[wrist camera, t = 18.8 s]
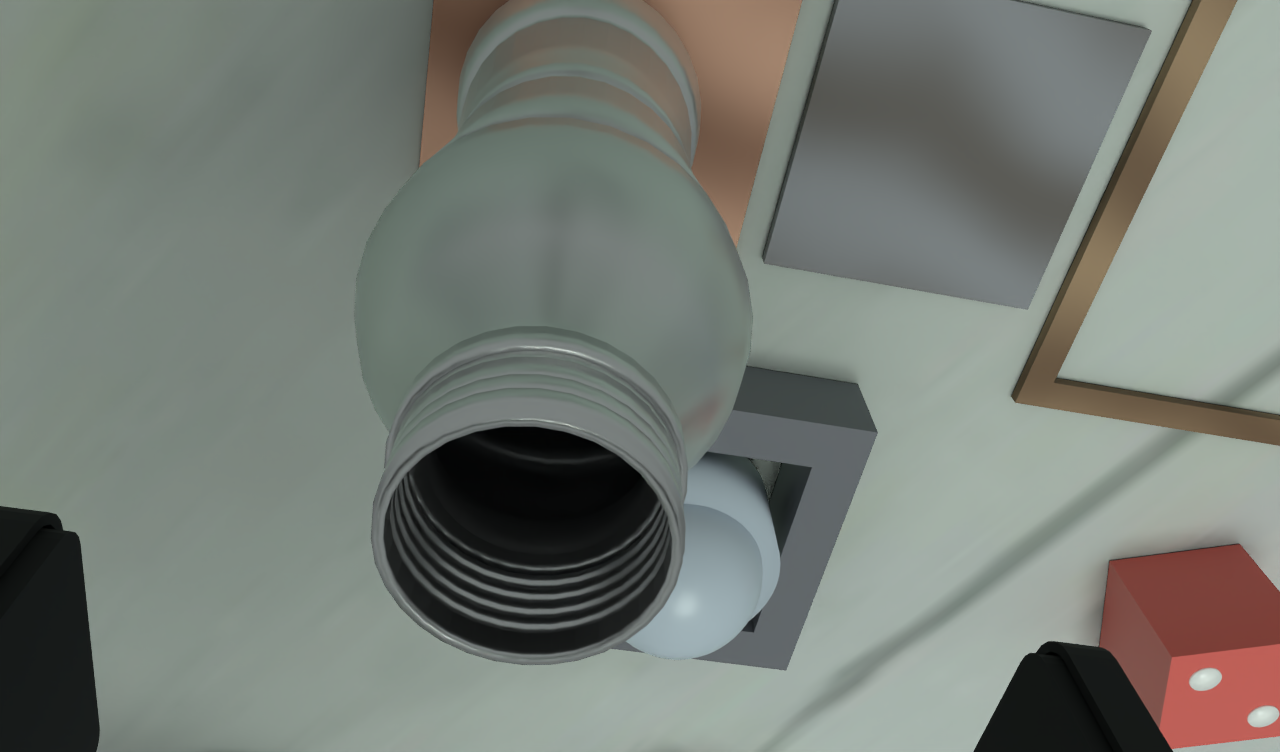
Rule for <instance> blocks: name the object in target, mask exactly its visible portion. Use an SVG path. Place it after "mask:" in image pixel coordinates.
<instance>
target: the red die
mask: <svg viewBox="0 0 1280 752" xmlns="http://www.w3.org/2000/svg"><path fill="white" fill-rule="evenodd" d="M1099 647H1102V648H1104V649H1106V650H1108V651H1110V652H1111V653H1112V655H1113V656H1114V657H1115V658H1116V659H1117V661H1118V663H1119V664H1120V666H1121V668H1122V669H1123V671H1124V672H1125V674H1126V676H1127V677H1128V679H1129V681H1130V682H1131V684H1132V685H1133V687H1134V689H1135V690H1136V692H1137V694H1138V695H1139V697H1140V698H1141V700H1142V702H1143V703H1144V705H1145V707H1146V708H1147V710H1148V711H1149V713H1150V715H1151V716H1152V718H1153V720H1154V721H1155V723H1156V725H1157V726H1158V728H1159V729H1160V731H1161V733H1162V734H1163V736H1164V738H1165V739H1166V741H1167V742H1168V744H1169V746H1170V747H1171V749H1174V748H1183V747H1191V746H1200V745H1208V744H1217V743H1225V742H1234V741H1242V740H1251V739H1259V738H1268V737H1276V736H1280V592H1279V590H1278V589H1277V588H1276V587H1275V586H1274V584H1273V583H1272V582H1271V581H1270V580H1269V578H1268V577H1267V576H1266V575H1265V574H1264V572H1263V571H1262V570H1261V569H1260V568H1259V566H1258V565H1257V564H1256V563H1255V562H1254V560H1253V559H1252V558H1251V557H1250V556H1249V555H1248V553H1247V552H1246V551H1245V550H1244V549H1243V547H1242V546H1241V545H1240V544H1237V545H1229V546H1221V547H1214V548H1206V549H1198V550H1190V551H1183V552H1175V553H1167V554H1160V555H1152V556H1144V557H1136V558H1129V559H1121V560H1113V561H1110V562H1109V570H1108V579H1107V587H1106V595H1105V603H1104V612H1103V620H1102V628H1101V636H1100V645H1099Z"/></svg>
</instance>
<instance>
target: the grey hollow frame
mask: <svg viewBox="0 0 1280 752" xmlns="http://www.w3.org/2000/svg"><path fill="white" fill-rule="evenodd" d="M877 433H878V432H877V429H876V427H875V425H874V422H873V420H872V417H871V415H870V413H869V410H868V408H867V405H866V403H865V400H864V398H863V396H862V393H861V391H860V388H859V386H858V384H853V383H847V382H841V381H834V380H828V379H822V378H816V377H810V376H803V375H797V374H791V373H785V372H779V371H773V370H766V369H760V368H754V367H748V366H746V368H745V372H744V375H743V379H742V382H741V385H740V388H739V391H738V394H737V397H736V401H735V404H734V407H733V410H732V412H731V414H730V416H729V418H728V419H727V421H726V423H725V425H724V427H723V429H722V431H721V432H720V434H719V436H718V438H717V440H716V441H715V442H714V443H713V445H712V446H711V447H710V448H709V449H708V452H714V453H721V454H728V455H734V456H741V457H748V458H754V459H761V460H768V461H774V462H781V463H782V465H781V468H780V471H779V474H778V477H777V480H776V483H775V486H774V489H773V492H772V496H771V499H770V502H769V507H770V512H771V517H772V521H773V526H774V530H775V535H776V540H777V544H778V549H779V553H780V574H779V578H778V582H777V585H776V587H775V590H774V592H773V594H772V596H771V597H770V599H769V600H768V602H767V604H766V605H765V606H764V607H763V608H762V609H761V611H760V612H759V613H758V614H756V615H755V616H754V617H753V618H752V619H751V620H750V621H748V623H747V624H746V626H745V627H744V628H743V629H742V630H741V632H740V633H739V634H738V635H737V636H736V637H735V638H734V639H733V640H731V641H730V642H729V643H727V644H726V645H724V646H723V647H721V648H720V649H718V650H716V651H714V652H712V653H709V654H707V655H704V656H701V657H697V658H692V659H699V660H707V661H715V662H723V663H731V664H739V665H747V666H755V667H763V668H771V669H779V670H786V669H787V667H788V664H789V662H790V659H791V656H792V654H793V651H794V649H795V646H796V643H797V641H798V638H799V636H800V633H801V630H802V628H803V625H804V623H805V620H806V618H807V615H808V612H809V610H810V607H811V605H812V602H813V599H814V597H815V594H816V592H817V589H818V586H819V584H820V581H821V579H822V576H823V573H824V571H825V568H826V566H827V563H828V560H829V558H830V555H831V553H832V550H833V547H834V545H835V542H836V540H837V537H838V535H839V532H840V529H841V527H842V524H843V522H844V519H845V516H846V514H847V511H848V509H849V506H850V503H851V501H852V498H853V496H854V493H855V490H856V488H857V485H858V483H859V480H860V477H861V475H862V472H863V470H864V467H865V465H866V462H867V459H868V457H869V454H870V452H871V449H872V446H873V444H874V441H875V439H876V436H877ZM611 649H618V650H626V651H634V652H642V651H640V650H638V649H636V648H635V647H633V646H632V645H630V644H629V643H627V642H626V641H625V642H623V643H621V644H619V645H617V646H615V647H613V648H611ZM643 653H645V652H643Z"/></svg>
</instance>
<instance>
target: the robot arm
mask: <svg viewBox="0 0 1280 752" xmlns="http://www.w3.org/2000/svg"><path fill="white" fill-rule="evenodd" d="M99 734H100V727H99V717H98V708H97V698H96V688H95V679H94V669H93V660H92V650H91V640H90V631H89V621H88V612H87V602H86V592H85V583H84V573H83V564H82V554H81V544H80V540H79V537H78V535H77V534H76V533H75V532H71V531H63V527H62V523H61V520H60V519H59V517H58V516H57V514H53V513H49V512H41V511H34V510H26V509H18V508H10V507H2V506H0V752H96V750H97V746H98V741H99ZM974 752H1173V751H1172V749H1171V747H1170V746H1169V744H1168V742H1167V741H1166V739H1165V738H1164V736H1163V734H1162V733H1161V731H1160V729H1159V728H1158V726H1157V725H1156V723H1155V721H1154V720H1153V718H1152V716H1151V715H1150V713H1149V711H1148V710H1147V708H1146V707H1145V705H1144V703H1143V702H1142V700H1141V698H1140V697H1139V695H1138V694H1137V692H1136V690H1135V689H1134V687H1133V685H1132V684H1131V682H1130V681H1129V679H1128V677H1127V676H1126V674H1125V672H1124V671H1123V669H1122V668H1121V666H1120V664H1119V663H1118V661H1117V659H1116V658H1115V657H1114V656H1113V655H1112V653H1111V652H1110V651H1108V650H1106V649H1104V648H1102V647H1094V646H1086V645H1079V644H1071V643H1063V642H1055V641H1048V642H1046V643H1045V644H1043V645H1041V647H1040V648H1039V649H1038V651H1037V652H1036V653H1029V654H1028V655H1026V656H1025V657H1024V658H1023V660H1022V661H1021V663H1020V665H1019V666H1018V668H1017V670H1016V672H1015V674H1014V676H1013V678H1012V680H1011V682H1010V683H1009V685H1008V687H1007V689H1006V691H1005V693H1004V695H1003V697H1002V699H1001V700H1000V702H999V704H998V706H997V708H996V710H995V712H994V714H993V716H992V718H991V719H990V721H989V723H988V725H987V727H986V729H985V731H984V733H983V735H982V736H981V738H980V740H979V742H978V744H977V746H976V748H975V750H974Z"/></svg>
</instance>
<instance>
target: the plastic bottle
mask: <svg viewBox="0 0 1280 752" xmlns="http://www.w3.org/2000/svg"><path fill="white" fill-rule="evenodd" d="M700 118H701V99H700V92H699V86H698V79H697V76H696V73H695V70H694V67H693V64H692V61H691V59H690V56H689V53H688V52H687V50H686V48H685V46H684V45H683V43H682V41H681V40H680V38H679V36H678V35H677V33H676V31H675V30H674V29H673V28H672V27H671V26H670V25H669V23H668V22H667V21H666V20H665V19H664V18H663V17H662V16H661V14H660V13H659V12H658V11H656V10H655V9H654V8H652V7H651V6H650V5H648V4H647V3H646V2H644V1H643V0H509V1H508V2H506V3H505V4H504V5H502V6H501V7H500V8H498V9H497V10H496V11H495V12H494V13H493V14H492V15H491V17H490V18H489V19H488V20H487V21H486V22H485V24H484V25H483V26H482V27H481V28H480V29H479V31H478V33H477V35H476V37H475V39H474V40H473V42H472V44H471V46H470V48H469V50H468V51H467V54H466V58H465V61H464V64H463V67H462V71H461V74H460V81H459V90H458V100H457V126H458V133H457V134H456V136H455V137H454V138H453V139H452V140H451V141H450V142H449V143H447V144H446V145H445V146H444V147H443V148H441V149H440V150H439V151H438V152H437V153H436V154H434V155H433V156H432V157H431V158H430V159H428V160H427V161H426V162H424V163H423V164H422V165H421V167H420V168H419V169H418V170H417V171H416V172H415V173H414V174H413V176H412V177H411V178H410V179H409V180H408V181H407V182H406V183H405V185H404V186H403V187H402V188H401V189H400V190H399V191H398V193H397V194H396V196H395V197H394V198H393V200H392V201H391V202H390V203H389V205H388V206H387V207H386V208H385V210H384V212H383V213H382V215H381V217H380V219H379V221H378V222H377V224H376V226H375V228H374V230H373V232H372V233H371V235H370V237H369V239H368V241H367V242H366V246H365V250H364V253H363V257H362V260H361V264H360V267H359V271H358V274H357V278H356V293H355V311H354V317H355V327H356V336H357V345H358V352H359V358H360V364H361V370H362V376H363V380H364V383H365V385H366V388H367V390H368V393H369V396H370V398H371V401H372V403H373V406H374V409H375V411H376V412H377V414H378V416H379V417H380V419H381V420H382V422H383V423H384V425H385V427H386V428H387V430H388V431H389V436H388V439H387V442H386V453H385V466H384V468H385V470H384V472H383V475H382V478H381V481H380V484H379V487H378V489H377V492H376V495H375V498H374V501H373V514H372V530H371V542H372V548H373V554H374V559H375V564H376V566H377V569H378V571H379V573H380V576H381V578H382V580H383V583H384V585H385V587H386V588H387V590H388V591H389V593H390V594H391V595H392V597H393V598H394V600H395V601H396V602H397V604H398V605H399V607H400V608H401V609H402V610H403V611H404V612H405V613H406V614H407V615H408V616H409V617H410V618H412V619H413V620H414V621H415V622H416V623H417V624H418V625H419V626H420V627H422V628H423V629H425V630H426V631H428V632H429V633H430V634H432V635H433V636H435V637H436V638H438V639H439V640H441V641H443V642H445V643H447V644H449V645H451V646H453V647H456V648H458V649H460V650H462V651H464V652H466V653H469V654H473V655H476V656H479V657H483V658H486V659H490V660H493V661H499V662H506V663H513V664H521V665H551V664H558V663H564V662H571V661H577V660H581V659H584V658H587V657H590V656H594V655H597V654H600V653H603V652H605V651H607V650H609V649H611V648H613V647H615V646H617V645H619V644H621V643H623V642H625V641H627V640H628V639H630V638H631V637H632V636H634V635H635V634H636V633H638V632H639V631H640V630H642V629H643V628H644V627H646V626H647V625H648V624H649V623H650V622H651V621H652V619H653V618H654V617H655V616H656V615H657V614H658V613H659V612H660V611H661V609H662V608H663V607H664V606H665V604H666V602H667V600H668V599H669V597H670V595H671V593H672V592H673V590H674V588H675V586H676V583H677V580H678V577H679V573H680V570H681V566H682V563H683V555H684V552H685V531H686V525H685V516H684V505H683V504H684V501H685V497H686V494H687V478H688V471H689V470H690V469H691V468H692V467H694V466H695V465H696V464H697V463H698V461H699V460H700V459H701V458H702V457H703V455H704V454H705V453H706V452H707V451H708V449H709V448H710V447H711V446H712V445H713V443H714V442H715V441H716V440H717V438H718V436H719V434H720V432H721V431H722V429H723V427H724V425H725V423H726V421H727V419H728V418H729V416H730V414H731V412H732V410H733V407H734V404H735V401H736V397H737V394H738V391H739V388H740V385H741V382H742V379H743V375H744V372H745V368H746V365H747V361H748V358H749V355H750V349H751V335H752V322H753V314H752V307H751V300H750V292H749V285H748V279H747V277H746V274H745V271H744V269H743V266H742V263H741V260H740V258H739V255H738V252H737V249H736V247H735V244H734V242H733V240H732V238H731V236H730V233H729V230H728V228H727V225H726V223H725V222H724V220H723V219H722V217H721V215H720V214H719V212H718V211H717V209H716V207H715V206H714V204H713V203H712V201H711V199H710V198H709V196H708V195H707V193H706V192H705V191H704V189H703V188H702V186H701V185H700V183H699V182H698V180H697V179H696V177H695V176H694V175H693V172H692V170H691V167H692V165H693V160H694V156H695V152H696V147H697V143H698V137H699V131H700Z"/></svg>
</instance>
